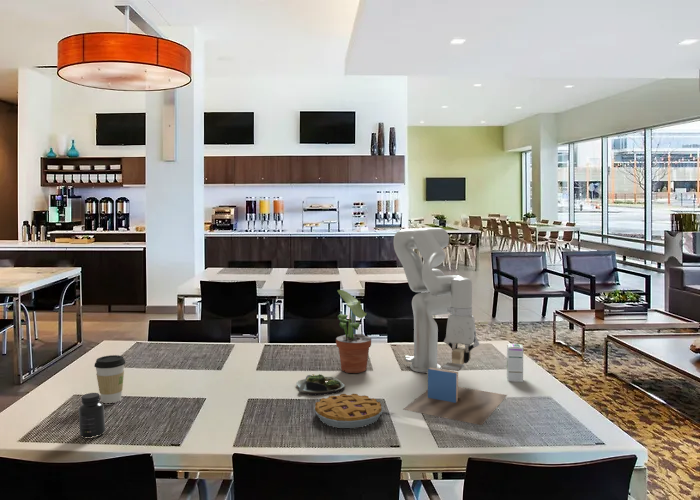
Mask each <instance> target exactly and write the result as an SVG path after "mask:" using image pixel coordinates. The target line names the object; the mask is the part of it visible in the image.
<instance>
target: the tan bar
mask: <svg viewBox="0 0 700 500" xmlns="http://www.w3.org/2000/svg"><path fill="white" fill-rule="evenodd" d="M471 351H472V350H471ZM471 351H470V360H471V357H472V356H471ZM464 352H465V344H460V346H458V348H457V349H455V350H453V351H452V350H451V362H447V363H445V364H444V365H442V366H441V369H442V370H449V371H455V372H459V371H461V370H462V369H463V368H465V363H464Z"/></svg>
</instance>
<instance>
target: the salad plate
mask: <svg viewBox="0 0 700 500" xmlns="http://www.w3.org/2000/svg"><path fill="white" fill-rule="evenodd" d="M325 381H328V382H325ZM296 386H297V388H298V392H300V393H303V394H304V393H305V395H307V394H309V395H308V396H324V394H327V395H333V394H332V393H334V394H339V393H340V392H343V390H344V389H345V387H346V384H344V383H343V381H341V380H340V379H338V378H337V377H335V376H324V375H322V374H320V373H319V374H307V375H306V376H305V378H302V379H300V380H298V381H296Z"/></svg>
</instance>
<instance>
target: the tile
mask: <svg viewBox="0 0 700 500" xmlns="http://www.w3.org/2000/svg"><path fill="white" fill-rule="evenodd" d="M458 387H459V371H454V370H447V369H442V368H441V369H436V368H429V369H428V373H427V390H428V398H432V399H438V400H443V401H449V402H454V403H456V402H457V401H458Z"/></svg>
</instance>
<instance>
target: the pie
mask: <svg viewBox="0 0 700 500" xmlns="http://www.w3.org/2000/svg"><path fill="white" fill-rule="evenodd" d="M383 408H384V407H383V405H382V404H381V402H380V401H378V400H377V399H376V398H373V397H372V398H370V397H369V396H368V395H365V394H364V395H360V394H358V393H352V394H346V393H339V395H329V396H328V397H326V398H325V397H322V398H320V399H319V401H316V402H315V404H314V407H313V411H314V412H315V413H316V416H317V417H318V418H320V419H319V421H320V422H321V421H322V422H324V423H326V424H327V425H326V424H325V425H326V426H328V425H330V426H334V427H338V428H354V427H362V426H365V425H368V426H370V425H369V424H371V425H373V424H374V422H375V421H376V422H377V420H378V421H379V419H380V416H381V415H382V414H383V410H384V409H383ZM322 422H321V423H322ZM376 422H375V423H376ZM324 423H323V424H324ZM372 423H373V424H372ZM330 426H329V427H330ZM334 427H333V428H334ZM365 427H366V426H365ZM362 428H363V427H362ZM354 429H355V428H354Z"/></svg>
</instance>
